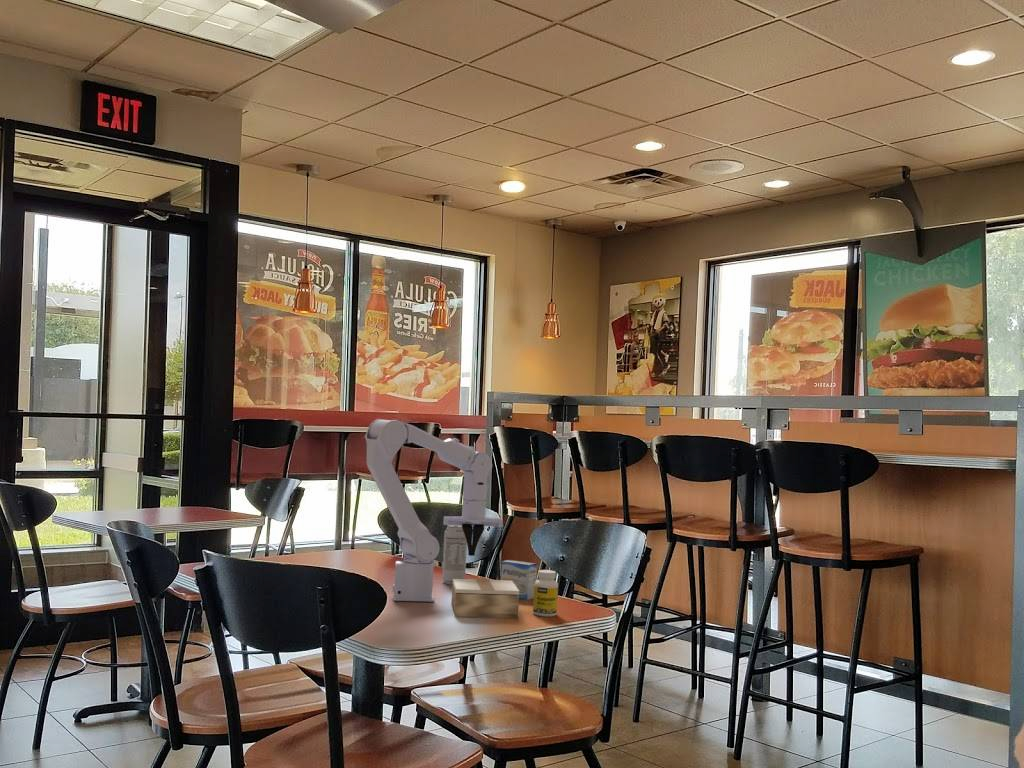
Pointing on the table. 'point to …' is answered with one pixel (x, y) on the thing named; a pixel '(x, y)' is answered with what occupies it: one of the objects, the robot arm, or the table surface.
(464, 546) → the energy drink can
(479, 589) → the lid
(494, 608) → the crate
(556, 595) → the supplement bottle
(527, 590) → the medicine box
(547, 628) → the table surface
